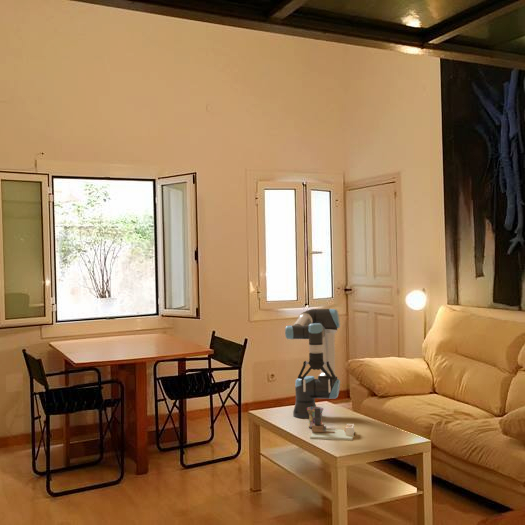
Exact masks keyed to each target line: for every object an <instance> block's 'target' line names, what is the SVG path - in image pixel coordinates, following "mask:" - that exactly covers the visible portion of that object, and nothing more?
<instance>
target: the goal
mask: <svg viewBox="0 0 525 525" xmlns="http://www.w3.org/2000/svg"><path fill="white" fill-rule="evenodd" d="M344 429H345V435H349V436H353V434H354V435H355V433H354V430H355V423H346V426H345V427H344ZM353 437H354V436H353Z"/></svg>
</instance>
